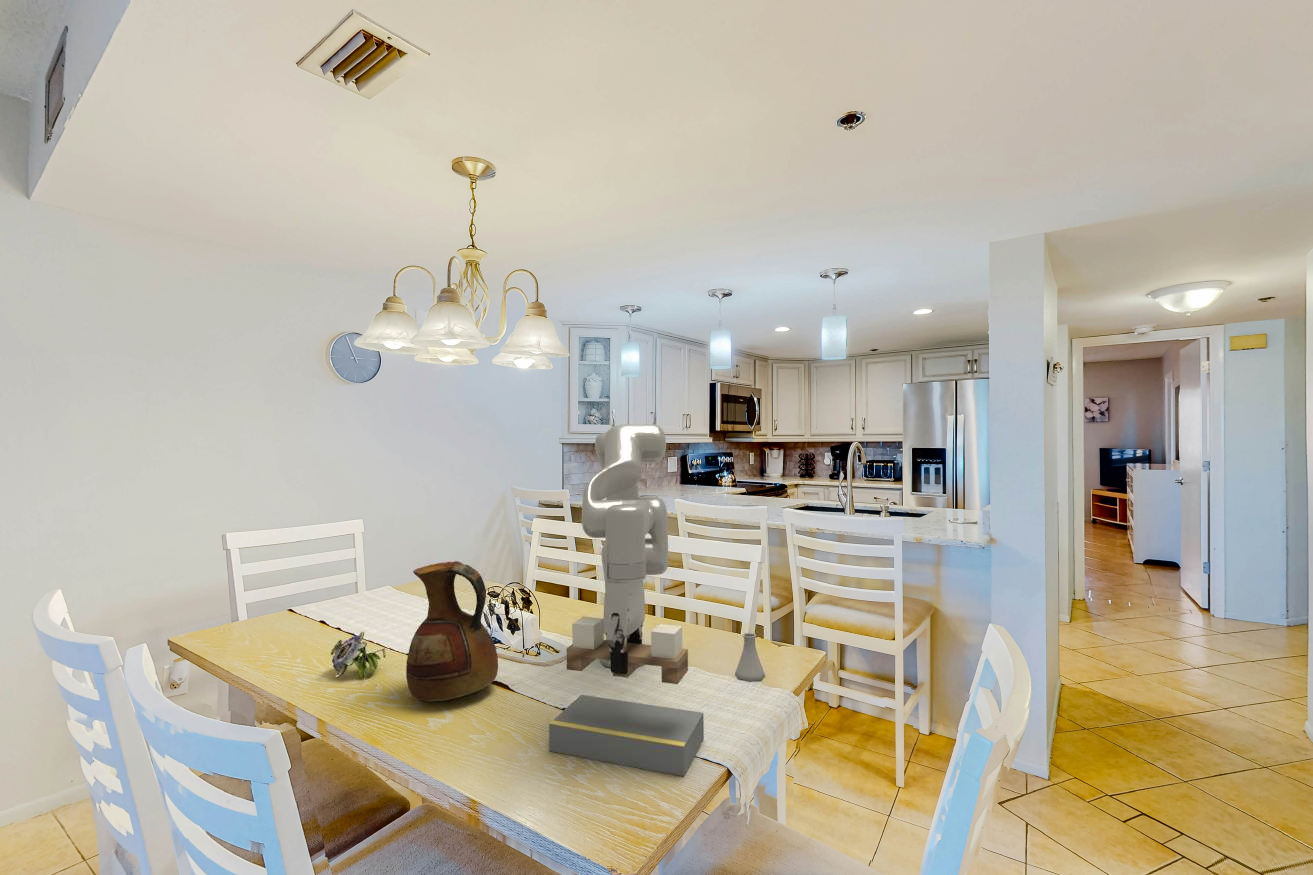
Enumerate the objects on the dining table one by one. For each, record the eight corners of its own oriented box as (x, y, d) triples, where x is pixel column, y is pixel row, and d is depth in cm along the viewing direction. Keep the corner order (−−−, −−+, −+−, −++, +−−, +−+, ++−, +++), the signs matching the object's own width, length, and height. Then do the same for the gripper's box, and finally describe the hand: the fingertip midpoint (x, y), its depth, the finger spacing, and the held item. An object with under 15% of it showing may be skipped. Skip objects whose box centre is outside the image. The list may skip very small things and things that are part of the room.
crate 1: (572, 646, 110) (572, 623, 110) (583, 639, 114) (582, 616, 114) (593, 649, 108) (593, 625, 108) (603, 641, 112) (603, 618, 112)
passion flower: (339, 698, 142) (319, 655, 145) (382, 676, 151) (362, 636, 153) (351, 683, 136) (330, 639, 138) (395, 661, 144) (374, 619, 147)
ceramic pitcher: (428, 675, 142) (427, 554, 143) (509, 675, 142) (507, 553, 142) (389, 712, 123) (388, 571, 123) (482, 712, 122) (481, 571, 123)
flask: (765, 683, 135) (764, 640, 135) (734, 680, 137) (733, 638, 137) (765, 671, 142) (764, 630, 143) (735, 669, 144) (735, 628, 144)
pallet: (566, 669, 109) (566, 648, 109) (582, 657, 115) (582, 637, 115) (677, 684, 102) (677, 661, 102) (688, 670, 108) (687, 649, 108)
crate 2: (651, 656, 104) (651, 631, 104) (659, 647, 109) (659, 623, 109) (675, 659, 103) (674, 633, 103) (682, 650, 107) (682, 626, 107)
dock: (549, 750, 106) (549, 723, 106) (581, 718, 119) (581, 694, 119) (684, 776, 98) (683, 746, 98) (703, 738, 110) (703, 712, 110)
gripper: (625, 560, 118) (626, 648, 118) (587, 579, 102) (588, 681, 101) (659, 562, 115) (660, 652, 115) (626, 582, 99) (627, 686, 99)
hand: (626, 664), depth 108 cm, fingers closed on pallet, 6 cm apart
